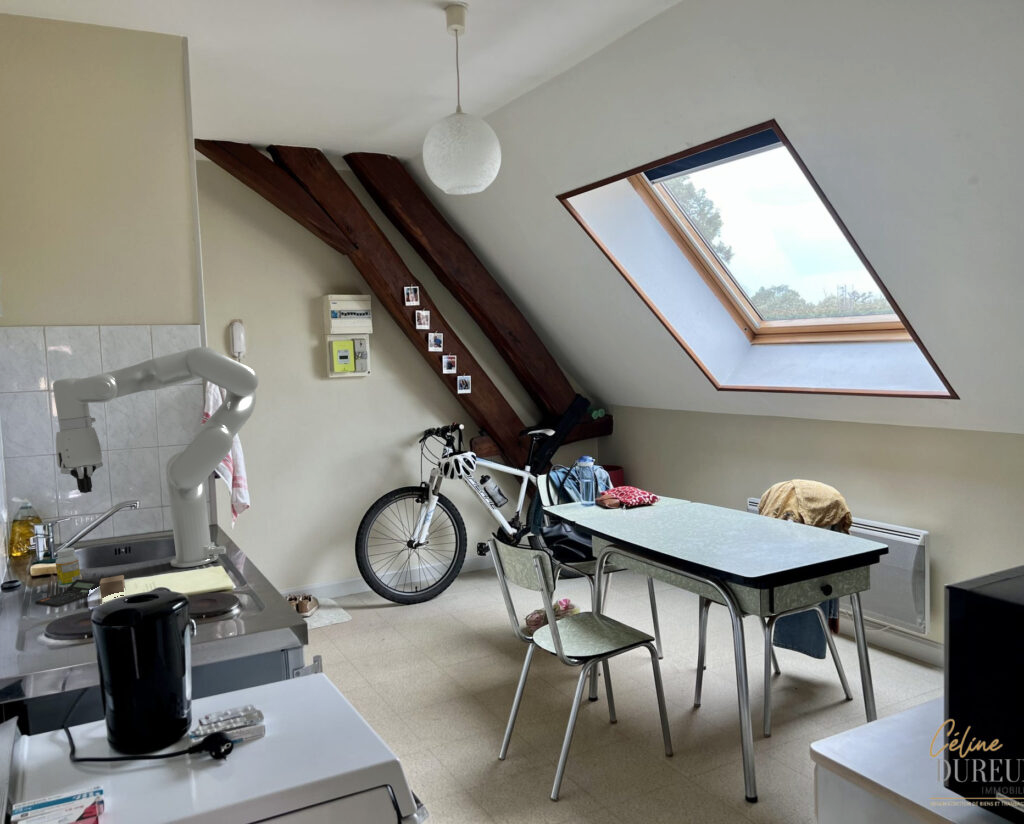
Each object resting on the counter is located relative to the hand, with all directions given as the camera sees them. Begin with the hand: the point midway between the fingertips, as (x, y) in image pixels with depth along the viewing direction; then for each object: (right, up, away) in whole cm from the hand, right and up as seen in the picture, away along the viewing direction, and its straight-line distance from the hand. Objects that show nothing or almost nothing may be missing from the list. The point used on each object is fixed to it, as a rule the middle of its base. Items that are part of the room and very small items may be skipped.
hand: (85, 492), depth 212 cm
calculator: (+3, -26, -13) cm, 29 cm away
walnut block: (+16, -25, -17) cm, 34 cm away
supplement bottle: (-4, -25, -1) cm, 25 cm away
